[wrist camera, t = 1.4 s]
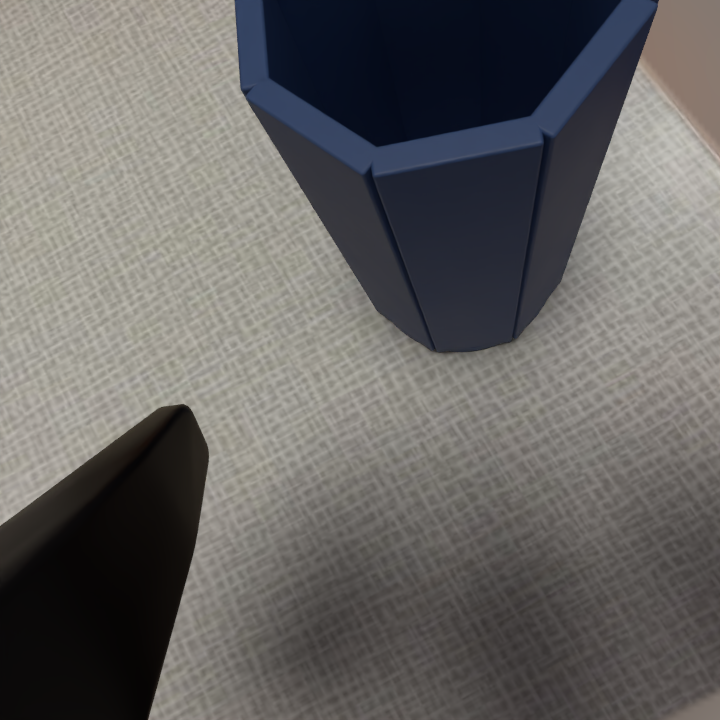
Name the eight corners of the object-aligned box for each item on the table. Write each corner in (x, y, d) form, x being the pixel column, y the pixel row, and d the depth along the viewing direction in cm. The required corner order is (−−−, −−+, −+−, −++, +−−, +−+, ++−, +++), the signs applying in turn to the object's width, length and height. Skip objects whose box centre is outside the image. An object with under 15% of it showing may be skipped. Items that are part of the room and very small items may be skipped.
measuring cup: (570, 337, 21) (692, 114, 8) (383, 364, 22) (246, 201, 10) (517, 48, 23) (551, -454, 11) (351, 85, 25) (211, -334, 12)
